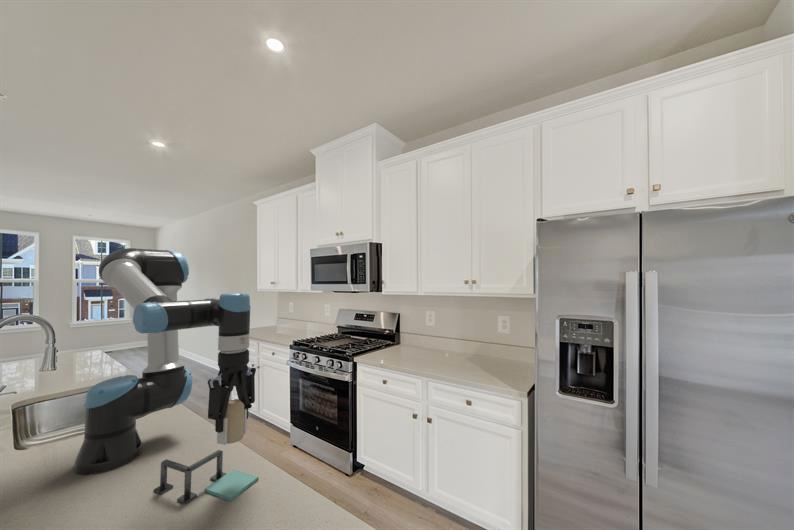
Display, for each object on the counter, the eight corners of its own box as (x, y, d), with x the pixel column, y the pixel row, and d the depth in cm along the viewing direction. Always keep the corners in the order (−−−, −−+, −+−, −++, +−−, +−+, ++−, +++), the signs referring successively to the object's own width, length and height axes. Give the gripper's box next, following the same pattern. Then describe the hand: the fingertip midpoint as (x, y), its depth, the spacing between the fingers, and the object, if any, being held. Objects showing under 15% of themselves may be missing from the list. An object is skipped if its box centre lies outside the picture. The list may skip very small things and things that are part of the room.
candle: (228, 446, 82) (228, 406, 83) (216, 440, 85) (217, 402, 86) (247, 437, 87) (248, 399, 87) (236, 432, 90) (236, 395, 90)
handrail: (153, 491, 83) (154, 462, 83) (197, 466, 94) (198, 440, 94) (185, 504, 78) (186, 472, 78) (227, 476, 89) (228, 448, 90)
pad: (204, 491, 83) (204, 488, 83) (233, 472, 91) (233, 469, 91) (230, 501, 80) (230, 497, 80) (258, 479, 88) (258, 476, 88)
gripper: (213, 359, 77) (210, 458, 76) (270, 344, 94) (268, 425, 93) (191, 356, 80) (188, 452, 79) (250, 342, 97) (249, 421, 96)
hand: (232, 437), depth 86 cm, fingers closed on candle, 5 cm apart
